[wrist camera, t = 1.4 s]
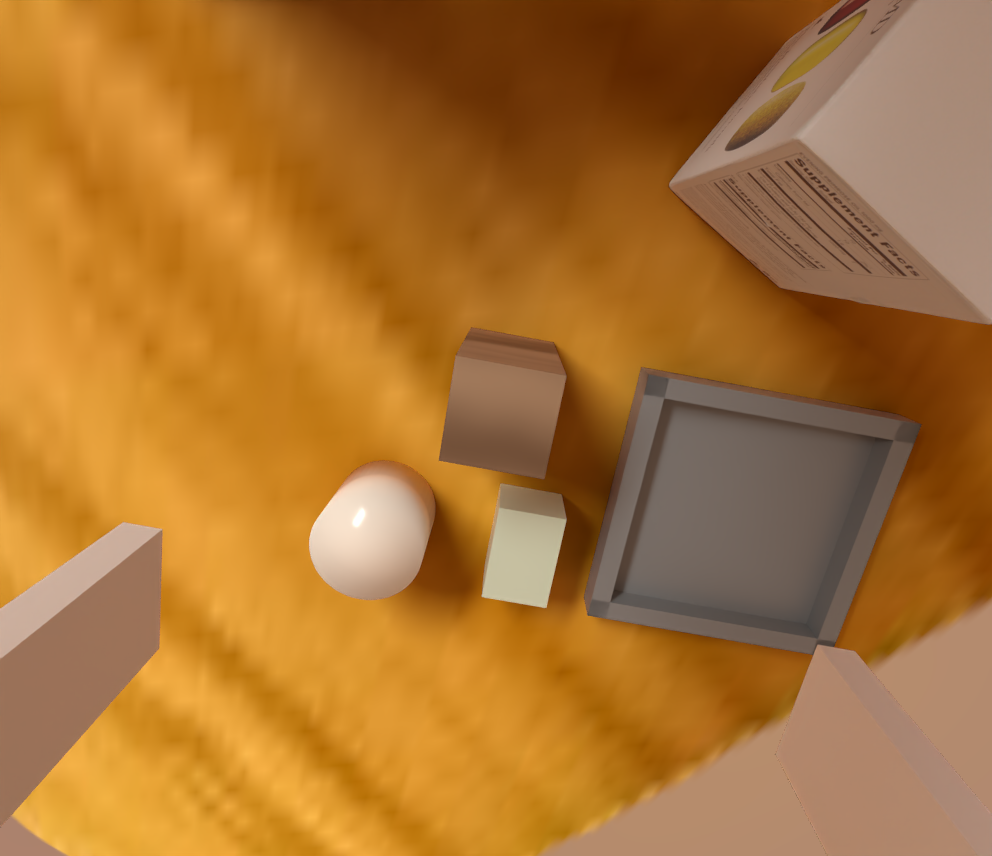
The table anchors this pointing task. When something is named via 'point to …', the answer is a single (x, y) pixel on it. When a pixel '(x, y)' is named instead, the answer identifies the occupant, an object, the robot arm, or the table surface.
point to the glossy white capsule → (374, 531)
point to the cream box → (524, 545)
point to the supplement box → (864, 159)
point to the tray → (743, 511)
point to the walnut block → (503, 403)
